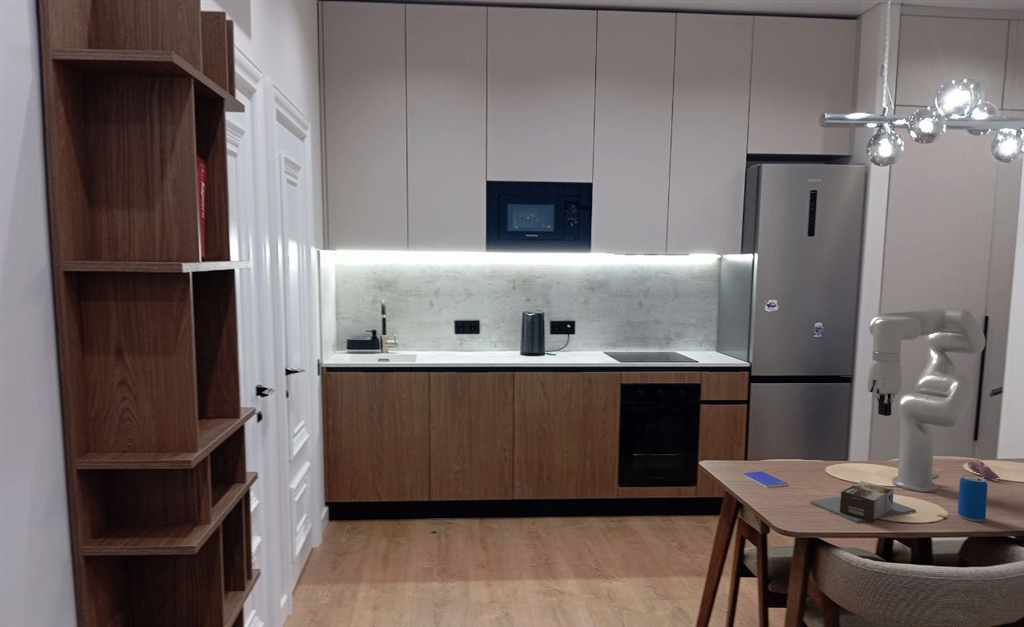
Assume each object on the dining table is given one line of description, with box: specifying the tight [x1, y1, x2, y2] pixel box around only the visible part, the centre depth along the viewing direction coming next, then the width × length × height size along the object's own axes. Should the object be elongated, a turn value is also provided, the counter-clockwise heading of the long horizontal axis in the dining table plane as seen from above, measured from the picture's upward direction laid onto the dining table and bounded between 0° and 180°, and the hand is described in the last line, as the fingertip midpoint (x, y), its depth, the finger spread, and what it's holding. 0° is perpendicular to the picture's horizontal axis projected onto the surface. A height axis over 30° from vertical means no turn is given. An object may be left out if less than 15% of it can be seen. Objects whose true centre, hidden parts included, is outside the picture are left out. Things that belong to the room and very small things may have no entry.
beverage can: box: [957, 474, 988, 522], centre depth 177 cm, size 6×6×12 cm
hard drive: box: [742, 471, 788, 488], centre depth 207 cm, size 2×8×12 cm
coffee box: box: [840, 480, 895, 522], centre depth 179 cm, size 9×6×16 cm
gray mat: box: [809, 495, 916, 524], centre depth 184 cm, size 25×16×1 cm, turn 112°
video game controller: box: [967, 459, 1000, 480], centre depth 216 cm, size 10×5×7 cm, turn 173°
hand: (884, 414), depth 191 cm, fingers closed
